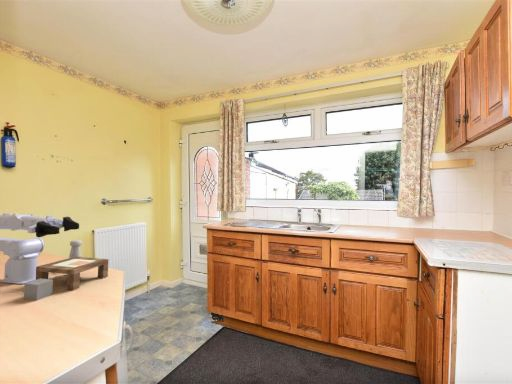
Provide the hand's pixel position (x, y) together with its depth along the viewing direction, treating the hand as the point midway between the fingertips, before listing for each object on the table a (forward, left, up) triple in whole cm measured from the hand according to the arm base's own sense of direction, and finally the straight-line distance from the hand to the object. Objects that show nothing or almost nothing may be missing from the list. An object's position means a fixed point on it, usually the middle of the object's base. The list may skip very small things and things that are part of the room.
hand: (68, 228), depth 92 cm
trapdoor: (-2, +5, -15) cm, 16 cm away
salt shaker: (-14, +17, -21) cm, 30 cm away
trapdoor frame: (-2, +5, -21) cm, 22 cm away
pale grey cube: (0, -10, -21) cm, 23 cm away
